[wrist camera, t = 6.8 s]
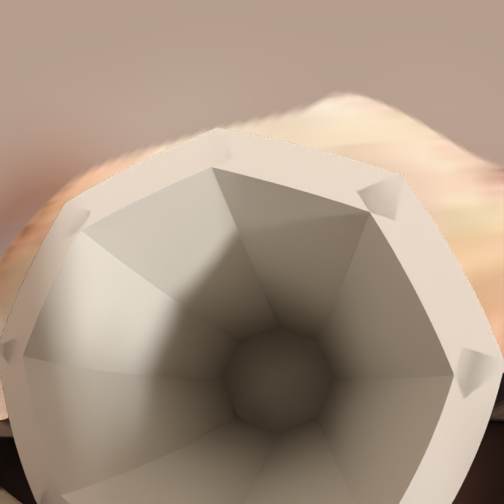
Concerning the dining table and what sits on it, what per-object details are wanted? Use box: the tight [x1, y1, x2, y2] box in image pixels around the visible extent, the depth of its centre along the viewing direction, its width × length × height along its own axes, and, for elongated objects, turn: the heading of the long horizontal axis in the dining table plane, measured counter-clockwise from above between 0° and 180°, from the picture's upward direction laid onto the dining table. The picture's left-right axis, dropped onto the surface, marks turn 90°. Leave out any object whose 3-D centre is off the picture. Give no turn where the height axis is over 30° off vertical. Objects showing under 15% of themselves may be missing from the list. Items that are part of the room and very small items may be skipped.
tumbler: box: [0, 127, 504, 504], centre depth 9 cm, size 6×6×13 cm
